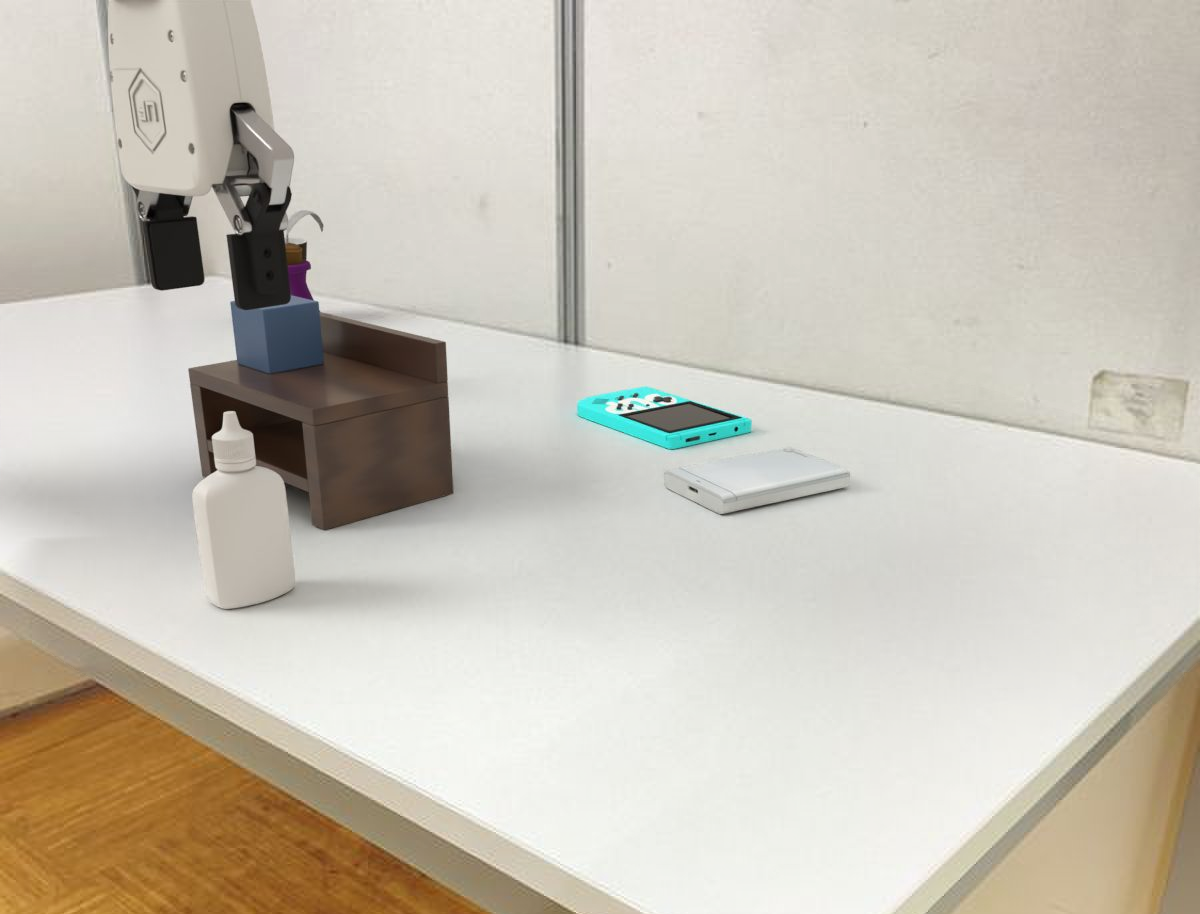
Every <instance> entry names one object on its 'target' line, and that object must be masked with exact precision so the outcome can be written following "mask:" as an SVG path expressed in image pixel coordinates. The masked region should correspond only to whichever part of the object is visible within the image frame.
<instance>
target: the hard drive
mask: <svg viewBox="0 0 1200 914" xmlns="http://www.w3.org/2000/svg"><path fill="white" fill-rule="evenodd" d="M662 482H663V483H662V484H663V486H664V487H665V488H666V489H668V490H670V491H672V492H674V493H676V494H678V495H679V496H682V497H683V498H686V499H688V500H690V501H692V502H694V503H697V504H698V505H701V507H705V508H706V509H708V510H710V511H713V512H714V513H716V514H719V515H724V514H729V513H735V512H737V511H742V510H748V509H751V508H752V509H753V508H756V507H761V506H765V505H771V504H775V503H779V502H785V501H789V500H793V499H797V498H802V497H807V496H812V495H817V494H821V493H824V492H825V493H826V492H831V491H834V490H839V489H843V488H848V487H850V485H851V483H850V482H851V472H850V470H849V469H848V468H846V467H844V466H841V465H839V464H836V463H833V462H830V461H828V460H825V459H823V458H820V457H817V456H814V455H812V454H810V453H806V452H804V451H801V450H799V449H796V448H793V447H790V446H785V447H780V448H774V449H768V450H764V451H759V452H753V453H749V454H743V455H738V456H733V457H727V458H722V459H717V460H712V461H707V462H702V463H701V462H700V463H696V464H691V465H686V466H680V467H677V468H671V469H665V470H664V471H663V481H662Z"/></svg>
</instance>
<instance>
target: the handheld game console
mask: <svg viewBox="0 0 1200 914" xmlns="http://www.w3.org/2000/svg"><path fill="white" fill-rule="evenodd" d="M576 408H577V409H576V412H577V413H576V414H577V416H579V417H580V418H582V419H586V420H588V421H591V422H593V423H597V424H599V425H602V426H605V427H607V428H610V429H613V430H616V431H619V432H621V433H624V434H626V435H629V436H632V437H634V438H637V439H640V440H642V441H646V442H649V443H651V444H654V445H657V446H659V447H662V448H665V449H668V450H676V449H681V448H686V447H689V446H694V445H698V444H704V443H707V442H713V441H717V440H722V439H727V438H731V437H735V436H739V435H744V434H749V433H751V432H752V425H753V424H752V423H753V422H752V421H753V420H752V418H750V417H749V418H748V417H745V416H742V415H739V414H736V413H733V412H730V411H726V410H724V409H719V408H717V407H713V406H710V405H707V404H704V403H701V402H697V401H695V400H691V399H689V398H685V397H682V396H679V395H675V394H672V393H669V392H666V391H662V390H659V389H656V388H653V387H650V386H640V387H639V386H638V387H633V388H629V389H623V390H618V391H612V392H606V393H600V394H596V395H592V396H587V397H585V398H582V399H580V400H578V401H577V403H576Z"/></svg>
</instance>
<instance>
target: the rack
mask: <svg viewBox="0 0 1200 914" xmlns="http://www.w3.org/2000/svg"><path fill="white" fill-rule="evenodd" d="M320 324H321V335H322V346H323V357H324V364H322V365H316V366H311V367H305V368H300V369H295V370H289V371H284V372H279V373H273V374H268V373H265V372H262V371H259V370H256V369H252V368H249V367H246V366H243V365H240V364H238V363H237V359H234V360H227V361H221V362H216V363H211V364H205V365H199V366H194V367H189V368H187V371H188V377H189V385H190V386H189V388H190V395H191V401H192V409H193V416H194V424H195V425H194V426H195V432H196V439H197V447H198V454H199V461H200V470H201V475H202V476H201V477H203V478H206V477H207V476H209V475H210V474H212V473H214V472H215V471H217V470H218V469H217V468H216V467H215V459H214V452H213V444H212V436H213V435H214V434H215V433H217V432H219V431H220V430H221V429H222V426H223V413H224V412H227V411H235V412H236V415H237V418H238V422H239V424H240V426H241V428H242V429H244V430H247V431H250V432H251V433H252V434H253V440H254V448H255V457H256V465H255V466H259V467H264V468H268V469H270V470H272V471H274V472H276V473H277V474H279V475H280V476H281V478H282V479H283V481H284V484H285V483H286V484H287V485H290V486H293V487H295V488H298V489H300V490H302V491H305V492H306V493H308V494H309V495H308V496H309V505H310V507H309V508H310V516H311V525H312V526H314V527H315V528H318V529H321V530H323V531H327V530H329V529H333V528H338V527H340V526H343V525H348V524H351V523H354V522H358V521H361V520H364V519H368V518H372V517H376V516H378V515H382V514H386V513H389V512H392V511H396V510H399V509H402V508H403V509H404V508H407V507H410V506H414V505H418V504H420V503H424V502H427V501H431V500H435V499H438V498H442V497H445V496H449V495H452V494H454V477H453V458H452V440H451V439H452V437H451V436H452V435H451V420H450V397H449V383H448V381H449V380H448V379H449V377H448V376H449V375H448V359H447V357H448V356H447V342H446V341H444V340H439V339H436V338H432V337H426V336H423V335H418V334H415V333H410V332H406V331H401V330H397V329H393V328H390V327H384V326H381V325H376V324H373V323H369V322H364V321H360V320H356V319H352V318H347V317H343V316H339V315H334V314H331V313H327V312H323V311H320Z"/></svg>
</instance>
